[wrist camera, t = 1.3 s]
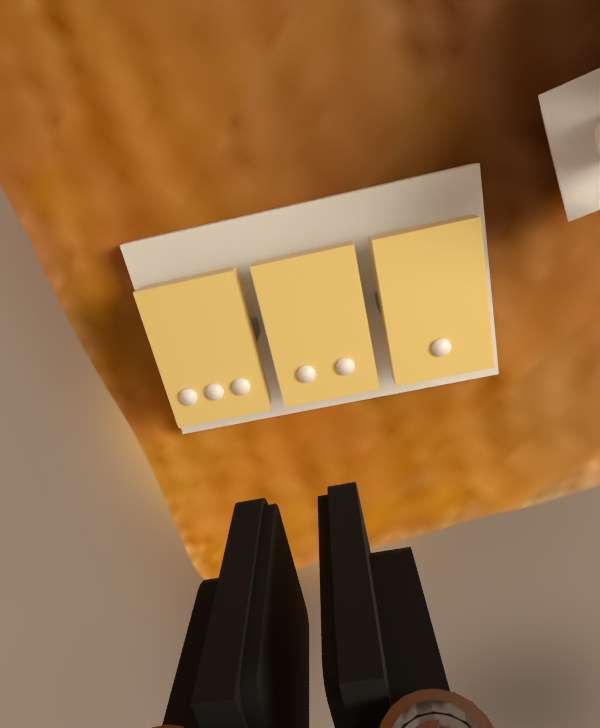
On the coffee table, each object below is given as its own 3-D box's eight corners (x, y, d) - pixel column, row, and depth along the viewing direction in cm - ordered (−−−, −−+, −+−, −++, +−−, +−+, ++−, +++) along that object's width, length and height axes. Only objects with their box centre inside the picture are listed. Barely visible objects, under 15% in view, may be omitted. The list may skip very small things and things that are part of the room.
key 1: (368, 236, 30) (372, 240, 28) (471, 213, 30) (482, 216, 28) (391, 375, 33) (396, 387, 31) (485, 357, 33) (495, 368, 31)
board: (127, 241, 35) (106, 250, 31) (472, 163, 32) (491, 162, 29) (187, 424, 39) (175, 449, 36) (490, 365, 37) (510, 386, 34)
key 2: (252, 261, 31) (249, 267, 29) (351, 240, 30) (354, 244, 28) (286, 395, 34) (284, 409, 32) (376, 378, 33) (380, 390, 31)
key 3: (142, 285, 31) (131, 293, 30) (236, 265, 31) (232, 271, 29) (184, 415, 34) (177, 429, 33) (271, 398, 34) (269, 411, 32)
